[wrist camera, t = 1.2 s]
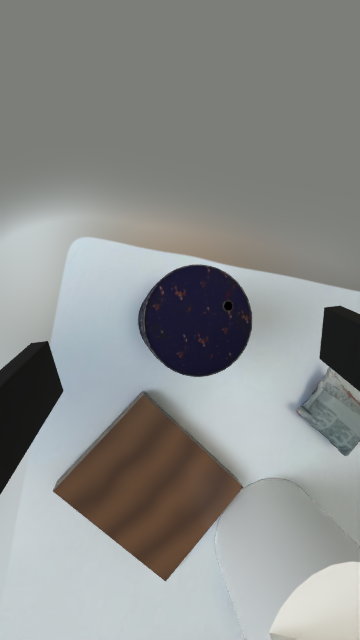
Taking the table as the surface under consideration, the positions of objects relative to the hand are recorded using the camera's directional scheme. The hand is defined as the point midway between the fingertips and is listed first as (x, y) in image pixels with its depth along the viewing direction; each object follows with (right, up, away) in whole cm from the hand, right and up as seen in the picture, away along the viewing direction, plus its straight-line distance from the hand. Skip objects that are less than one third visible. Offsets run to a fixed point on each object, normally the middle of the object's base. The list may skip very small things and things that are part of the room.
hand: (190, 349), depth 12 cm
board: (-4, -21, +24) cm, 32 cm away
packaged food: (+23, -13, +29) cm, 39 cm away
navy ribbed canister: (-2, +1, +24) cm, 24 cm away
